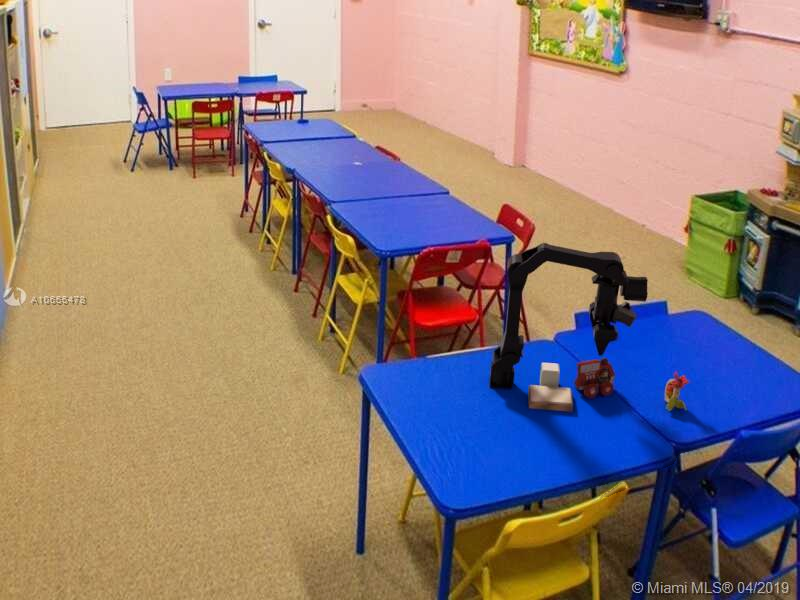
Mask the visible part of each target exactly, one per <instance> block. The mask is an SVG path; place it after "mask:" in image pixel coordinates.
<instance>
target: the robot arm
mask: <svg viewBox="0 0 800 600" xmlns="http://www.w3.org/2000/svg"><path fill="white" fill-rule="evenodd" d="M547 262H550V263H555V264H559V265H564V266H565V265H566V266H569V267H575V268H579V269H584V270H588V271H590V272H592V273H594V274H595V275H593V276H591V282H592V284H593V285H597V288H596V289H597V291H596V294H595V295H596V296H594V301H592V302H591V303H590V304H589V306H588V313H589V314H588V315H589V320H590V323H591V324H590V325H591V327H592V328H591V329H592V332H593V334H592V335H593V340H594V343H595V347H596V351H597V355H598V356H601V357H603V356H604V353H605V351H606V349H607V347H608V346H609V344H610V343H611V342H616V341H618V339H619V332H618V328H617V327H616V326H615V325H614V324H617V323H621V324H623V325H625V326H626V327H628V328H631V327H632V326H633V323H634V322H635V321H636V319H637V315H636V312H635V311H634V309H631V303H630V301H631V302H633V301H634V302H643V303H644V302H646V301H647V300H648V299H647V298H648V295H649V294H648V293H649V292H648V282H649V281H648V277H647V276H631V275H630V276H629V275H627V272H626V270H625V269H624V263H623V260H622V258H621V256H620V255H619V254H618V253H617V252H614V251H596V252H588V251H583V250H577V249H572V248H567V247H562V246H559V245H553V244H549V243H547V242H542V243H540V244H538V245H536V246H534V247H532V248H529V249H525V250H524V251H522V252H520V253H517V254H513V255H511V256H510V257H509V258H508V259H507V262H506V263H507V271H506V273H507V281H508V298H507V299H508V301H507V312H506V324H505V330H504V333H503V336H502V339H501V342H500V345H499V346H498V347H497V348H495V349H494V350H493V351H492V361H491V364H490V375H489V384H488V385H489V388H493V389H494V388H495V389H503V390H504V389H506V390H507V389H508V390H512V389H513V385H514V383H515V373H516V372H515V370H516V369H515V368H514V366H516V365H517V364H518V363H520V361H521V358H524V345H525V341H524V339H525V335H523V334H522V335H521V334H519V333H520V322H521V313H522V301H523V300H522V299H523V292H524V288H525V285H526V284H527V281H528V276H529V275H530V274H532V273H533V272H535V271H537V269H538V268H540V267H541V266H543V264H545V263H547ZM619 295H620V297H623V298H622V299H623V300H624V302H622V303H621V304H618V299H619V298H618V297H619ZM628 301H629V302H628ZM612 323H613V324H612Z"/></svg>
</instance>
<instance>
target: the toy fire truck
mask: <svg viewBox="0 0 800 600" xmlns="http://www.w3.org/2000/svg"><path fill="white" fill-rule="evenodd" d="M576 371H577V376H576V378H575V379H574V382H573V383H574V386H575V387H576V389H577V390H578V391H583V394H584V396H585V397H586V398H589V399H593V398H595V397H596V396H597V395H598V393H599V392H600V394H602V395H603V396H610V395H611V394H612V393H613V392H614V389H615V386H614V381H615V377H616V376H615V371H614V369H613V366H612V363H610V362H609V359H608V358H607V357H602V358H600V359H590V360H583V361H578V363H577V366H576Z"/></svg>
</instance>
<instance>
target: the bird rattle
mask: <svg viewBox="0 0 800 600" xmlns="http://www.w3.org/2000/svg"><path fill="white" fill-rule="evenodd" d="M673 376H674V378H670V379H669V380H668V381H667V382H666V385H665V387H664V388H665V389H664V401H665V402H666V403H667V404H666V407H665V409H666V410H667V411H668V412H671V411H672V409H674V408H677V409H684V410H685V411H687V407H686V404H685V403H684V401H683V400H681V399H679V398H680V393H681V389H682V390H683V389H684V386H685V385H687V384H689V383H690V382H691V381H690V380H689V379H687V377H686V375H684V374H683V375H681V376H680V377H679V375H678V372H677V371H675V372H674V373H673Z"/></svg>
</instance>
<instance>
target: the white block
mask: <svg viewBox="0 0 800 600" xmlns="http://www.w3.org/2000/svg"><path fill="white" fill-rule="evenodd" d="M539 373H540V375H539V386H551V387H559V384H560V374H561V373H560V364H559V363H554V362H553V363H552V362H541V366H540V372H539Z"/></svg>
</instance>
